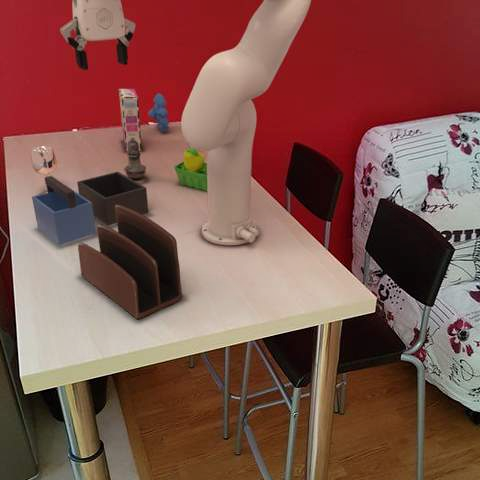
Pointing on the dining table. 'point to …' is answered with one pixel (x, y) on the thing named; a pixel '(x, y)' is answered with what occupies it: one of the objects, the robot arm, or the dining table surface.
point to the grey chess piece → (134, 161)
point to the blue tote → (63, 213)
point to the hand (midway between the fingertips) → (103, 66)
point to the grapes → (160, 112)
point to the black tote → (113, 195)
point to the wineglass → (43, 160)
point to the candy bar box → (130, 116)
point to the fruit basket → (192, 170)
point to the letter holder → (134, 264)
